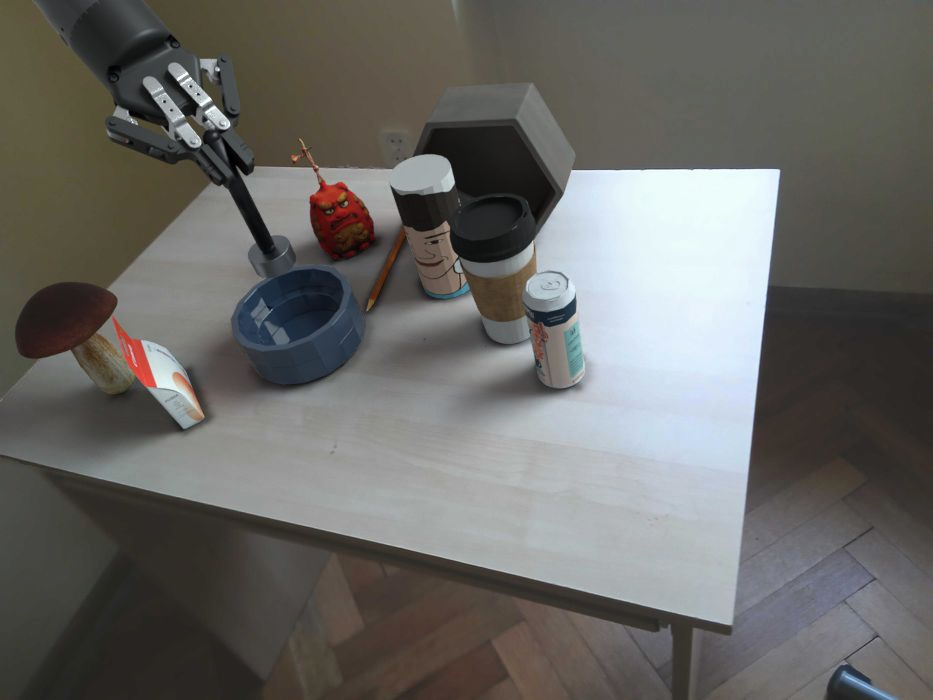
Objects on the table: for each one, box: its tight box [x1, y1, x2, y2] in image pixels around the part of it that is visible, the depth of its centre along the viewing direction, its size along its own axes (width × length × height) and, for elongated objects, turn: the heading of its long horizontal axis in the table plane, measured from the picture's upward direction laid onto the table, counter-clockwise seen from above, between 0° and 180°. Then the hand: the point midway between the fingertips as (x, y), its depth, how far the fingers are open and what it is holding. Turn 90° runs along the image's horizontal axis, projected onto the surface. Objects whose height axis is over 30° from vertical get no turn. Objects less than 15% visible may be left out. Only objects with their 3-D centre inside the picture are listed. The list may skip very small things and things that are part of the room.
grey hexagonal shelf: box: [412, 81, 577, 242], centre depth 83 cm, size 17×8×21 cm
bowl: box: [230, 263, 367, 385], centre depth 80 cm, size 14×14×6 cm
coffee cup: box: [449, 193, 538, 345], centre depth 72 cm, size 8×8×15 cm
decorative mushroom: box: [14, 281, 136, 395], centre depth 78 cm, size 11×11×15 cm
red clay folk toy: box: [290, 138, 376, 261], centre depth 89 cm, size 8×7×15 cm
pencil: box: [366, 226, 406, 312], centre depth 89 cm, size 1×18×1 cm, turn 166°
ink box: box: [110, 313, 205, 430], centre depth 76 cm, size 3×9×12 cm, turn 30°
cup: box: [387, 154, 470, 300], centre depth 80 cm, size 7×7×15 cm
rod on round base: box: [201, 129, 297, 279], centre depth 67 cm, size 4×4×15 cm
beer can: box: [522, 269, 586, 389], centre depth 67 cm, size 5×5×12 cm
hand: (241, 176), depth 64 cm, fingers closed on rod on round base
